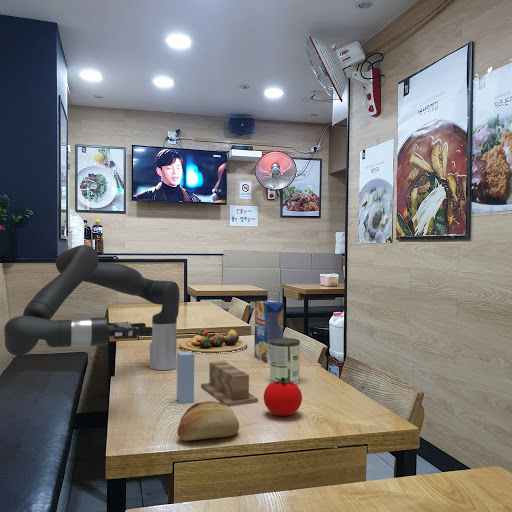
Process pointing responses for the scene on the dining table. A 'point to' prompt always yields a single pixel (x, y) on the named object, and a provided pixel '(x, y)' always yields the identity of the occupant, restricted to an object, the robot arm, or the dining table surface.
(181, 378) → the blue gray rectangular block
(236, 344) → the wooden plate with food
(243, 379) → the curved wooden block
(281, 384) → the tomato
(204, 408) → the bread roll
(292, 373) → the coffee can
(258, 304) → the juice carton
